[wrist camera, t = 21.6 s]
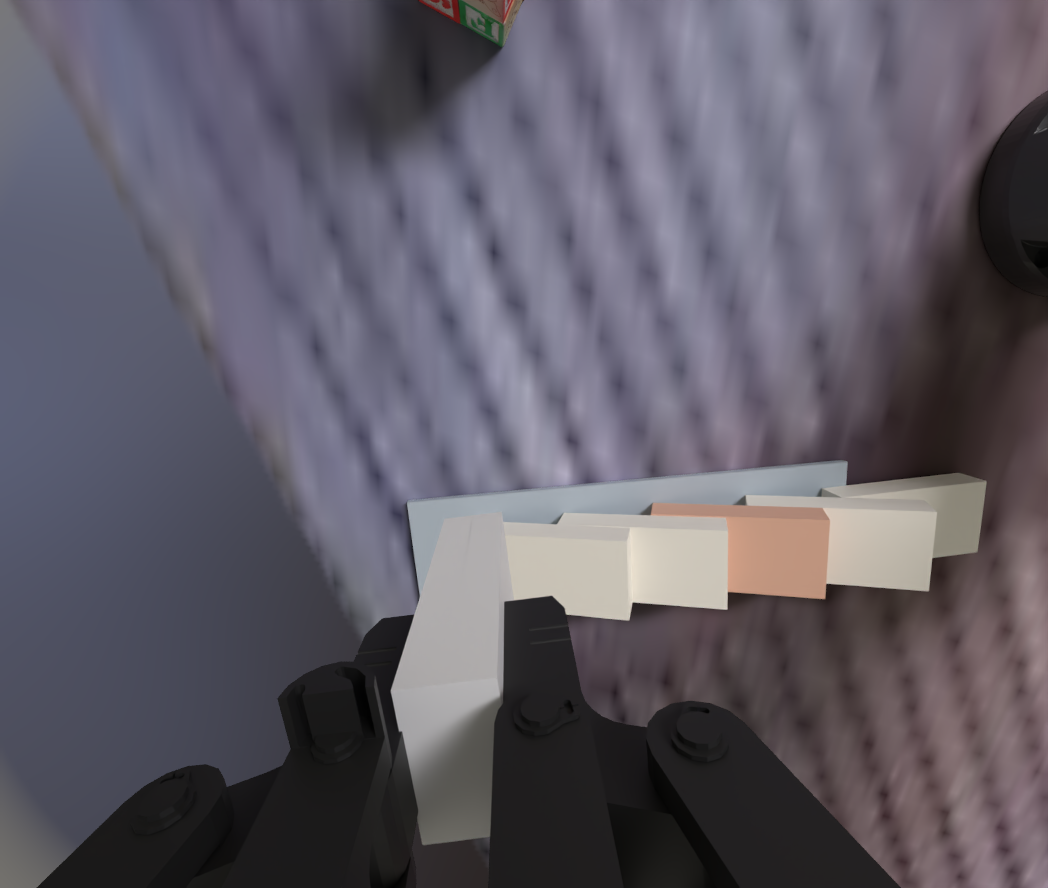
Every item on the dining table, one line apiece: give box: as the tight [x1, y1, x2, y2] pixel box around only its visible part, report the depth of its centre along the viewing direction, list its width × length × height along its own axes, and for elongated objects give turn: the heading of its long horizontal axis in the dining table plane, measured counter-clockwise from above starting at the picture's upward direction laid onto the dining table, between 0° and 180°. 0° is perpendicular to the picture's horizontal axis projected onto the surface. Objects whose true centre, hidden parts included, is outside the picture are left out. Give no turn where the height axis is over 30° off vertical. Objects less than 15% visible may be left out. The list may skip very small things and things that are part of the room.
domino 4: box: [821, 473, 987, 558], centre depth 43 cm, size 2×6×12 cm
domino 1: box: [558, 513, 728, 610], centre depth 40 cm, size 2×6×12 cm
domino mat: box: [407, 460, 848, 596], centre depth 43 cm, size 35×10×1 cm, turn 94°
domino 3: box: [745, 495, 937, 591], centre depth 40 cm, size 2×6×12 cm
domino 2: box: [651, 503, 830, 599], centre depth 40 cm, size 2×6×12 cm
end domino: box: [503, 522, 633, 621], centre depth 40 cm, size 2×6×12 cm
